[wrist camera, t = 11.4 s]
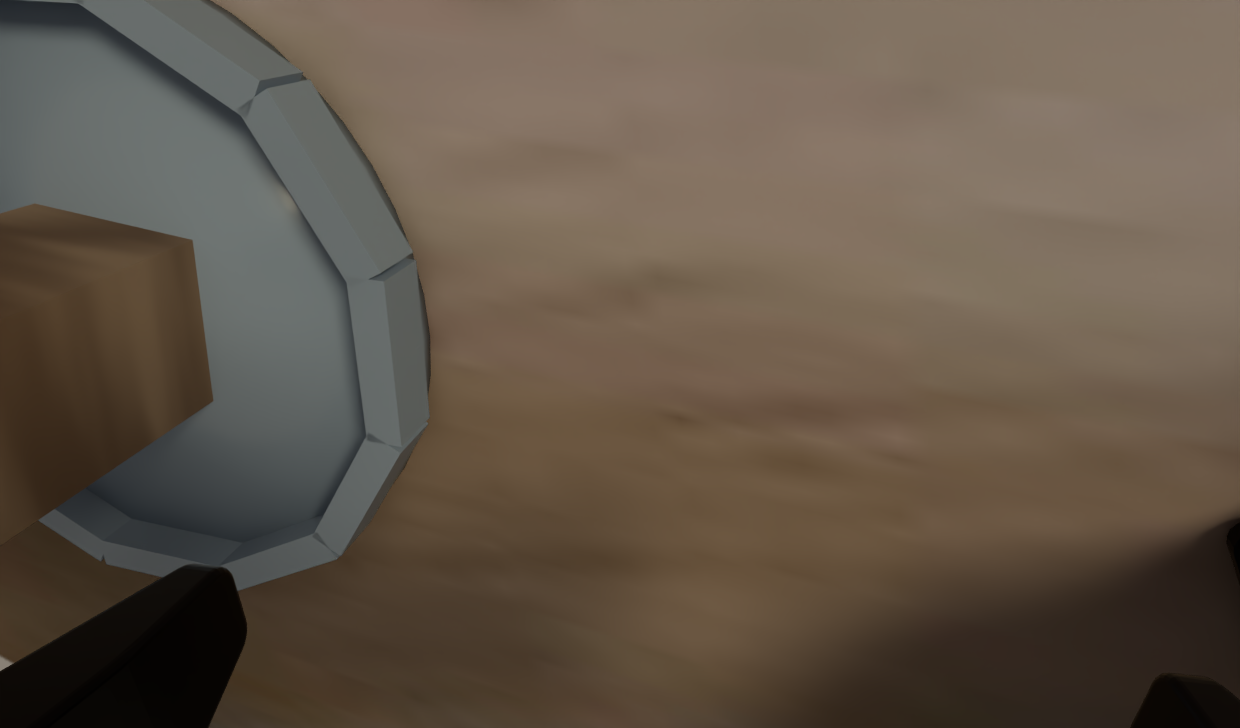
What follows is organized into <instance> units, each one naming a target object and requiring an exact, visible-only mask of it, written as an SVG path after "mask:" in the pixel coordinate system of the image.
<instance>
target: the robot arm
mask: <svg viewBox="0 0 1240 728" xmlns="http://www.w3.org/2000/svg"><path fill="white" fill-rule="evenodd" d="M1227 546H1228V549H1229V552H1230V555H1231V559H1232V562H1233V565H1234V568H1235V571H1236V574H1237V578H1238V581H1239V584H1240V523H1239V524H1237V525H1236V526H1234V527H1233V528H1232V529H1230V531H1229V533H1228V535H1227ZM246 635H247V622H246V618H245V614H244V611H243V608H242V604H241V601H240V598H239V594H238V591H237V588H236V584H235V581H234V578H233V575H232V573H231V572H230V571H229V570H228V569H227V568H224V567H221V566H212V565H203V564H187V565H184V566H182V567H180V568H178V569H176V570H174V571H173V572H171V573H169V574H167V575H166V576H164V577H162V578H161V579H159V580H157V581H155V582H154V583H152V584H150V585H148V586H147V587H145V588H143V589H142V590H140V591H138V592H136V593H135V594H133V595H131V596H129V597H128V598H126V599H124V600H123V601H121V602H119V603H117V604H116V605H114V606H112V607H110V608H109V609H107V610H105V611H104V612H102V613H100V614H98V615H97V616H95V617H93V618H91V619H90V620H88V621H86V622H85V623H83V624H81V625H79V626H78V627H76V628H74V629H72V630H71V631H69V632H67V633H66V634H64V635H62V636H60V637H59V638H57V639H55V640H53V641H52V642H50V643H48V644H47V645H45V646H43V647H41V648H40V649H38V650H36V651H34V652H33V653H31V654H29V655H27V656H26V657H24V658H22V659H21V660H19V661H17V662H15V663H14V664H12V665H10V666H9V667H7V668H5V669H3V670H2V671H0V728H208V727H209V725H210V723H211V720H212V718H213V716H214V713H215V711H216V709H217V707H218V704H219V702H220V700H221V697H222V695H223V693H224V691H225V688H226V686H227V684H228V681H229V679H230V677H231V675H232V672H233V670H234V668H235V665H236V663H237V661H238V659H239V656H240V654H241V652H242V649H243V647H244V644H245V640H246ZM1130 728H1240V700H1239V699H1238V698H1237V697H1235V696H1234V695H1233V694H1232V693H1231V692H1229V691H1228V690H1227V689H1226V688H1225V687H1223V686H1222V685H1220V684H1219V683H1218V682H1216V681H1214V680H1212V679H1210V678H1207V677H1201V676H1193V675H1184V674H1175V673H1163V674H1161V675H1160V676H1158V677H1157V678H1155V680H1154V681H1153V683H1152V685H1151V687H1150V689H1149V691H1148V693H1147V695H1146V697H1145V699H1144V701H1143V703H1142V705H1141V707H1140V709H1139V711H1138V713H1137V715H1136V717H1135V719H1134V721H1133V723H1132V725H1131V727H1130Z"/></svg>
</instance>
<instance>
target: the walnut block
mask: <svg viewBox="0 0 1240 728" xmlns="http://www.w3.org/2000/svg"><path fill="white" fill-rule="evenodd" d="M211 402H213V394H212V386H211V378H210V371H209V363H208V355H207V347H206V340H205V332H204V324H203V316H202V309H201V301H200V293H199V285H198V278H197V270H196V262H195V254H194V247H193V240H191V239H186V238H182V237H178V236H174V235H169V234H165V233H161V232H156V231H152V230H148V229H143V228H139V227H135V226H130V225H126V224H122V223H117V222H113V221H109V220H104V219H100V218H96V217H91V216H87V215H83V214H78V213H74V212H70V211H65V210H61V209H57V208H52V207H48V206H44V205H39V204H35V203H34V204H31V205H27V206H24V207H20V208H17V209H14V210H10V211H7V212H3V213H0V546H1V545H2V544H4V543H5V542H7V541H8V540H10V539H11V538H13V537H14V536H16V535H17V534H18V533H20V532H21V531H23V530H24V529H26V528H27V527H29V526H30V525H32V524H33V523H35V522H36V521H38V520H39V519H41V518H42V517H43V516H45V515H46V514H48V513H49V512H51V511H52V510H54V509H55V508H57V507H58V506H60V505H61V504H63V503H64V502H66V501H67V500H68V499H70V498H71V497H73V496H74V495H76V494H77V493H79V492H80V491H82V490H83V489H85V488H86V487H88V486H89V485H91V484H92V483H94V482H95V481H96V480H98V479H99V478H101V477H102V476H104V475H105V474H107V473H108V472H110V471H111V470H113V469H114V468H116V467H117V466H119V465H120V464H121V463H123V462H124V461H126V460H127V459H129V458H130V457H132V456H133V455H135V454H136V453H138V452H139V451H141V450H142V449H144V448H145V447H146V446H148V445H149V444H151V443H152V442H154V441H155V440H157V439H158V438H160V437H161V436H163V435H164V434H166V433H167V432H169V431H170V430H172V429H173V428H174V427H176V426H177V425H179V424H180V423H182V422H183V421H185V420H186V419H188V418H189V417H191V416H192V415H194V414H195V413H197V412H198V411H199V410H201V409H202V408H204V407H205V406H207V405H208V404H210V403H211Z"/></svg>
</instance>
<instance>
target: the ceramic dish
mask: <svg viewBox="0 0 1240 728" xmlns="http://www.w3.org/2000/svg"><path fill="white" fill-rule="evenodd" d="M302 74H303V72H302V71H301V70H300V69H298V68H297V67H295V66H294V65H292V64H291V63H290V62H289V61H288V60H287V59H286V58H285V57H284V56H283V55H282V54H281V53H280V52H279V51H278V50H277V49H276V48H275V47H274V46H273V45H271V44H270V43H269V42H268V41H266V40H265V39H264V38H262V37H261V36H260V35H259V34H257V33H256V32H255V31H254V30H252V29H251V28H250V27H248V26H247V25H246V24H245V23H243V22H242V21H241V20H239V19H238V18H237V17H236V16H234V15H233V14H232V13H230V12H228V11H227V10H225V9H224V8H222V7H220V6H219V5H217V4H215V3H214V2H212V1H210V0H0V213H3V212H7V211H10V210H14V209H17V208H20V207H24V206H27V205H31V204H34V203H35V204H39V205H44V206H48V207H52V208H57V209H61V210H65V211H70V212H74V213H78V214H83V215H87V216H91V217H96V218H100V219H104V220H109V221H113V222H117V223H122V224H126V225H130V226H135V227H139V228H143V229H148V230H152V231H156V232H161V233H165V234H169V235H174V236H178V237H182V238H186V239H191V240H193V247H194V254H195V262H196V270H197V278H198V285H199V293H200V301H201V309H202V316H203V324H204V332H205V340H206V347H207V355H208V363H209V371H210V378H211V386H212V394H213V402H211V403H210V404H208V405H207V406H205V407H204V408H202V409H201V410H199V411H198V412H197V413H195V414H194V415H192V416H191V417H189V418H188V419H186V420H185V421H183V422H182V423H180V424H179V425H177V426H176V427H174V428H173V429H172V430H170V431H169V432H167V433H166V434H164V435H163V436H161V437H160V438H158V439H157V440H155V441H154V442H152V443H151V444H149V445H148V446H146V447H145V448H144V449H142V450H141V451H139V452H138V453H136V454H135V455H133V456H132V457H130V458H129V459H127V460H126V461H124V462H123V463H121V464H120V465H119V466H117V467H116V468H114V469H113V470H111V471H110V472H108V473H107V474H105V475H104V476H102V477H101V478H99V479H98V480H96V481H95V482H94V483H92V484H91V485H89V486H88V487H86V488H85V489H83V490H82V491H80V492H79V493H77V494H76V495H74V496H73V497H71V498H70V499H68V500H67V501H66V502H64V503H63V504H61V505H60V506H58V507H57V508H55V509H54V510H52V511H51V512H49V513H48V514H46V515H45V516H43V517H42V518H41V519H39V520H38V521H40V522H41V523H43V524H44V525H46V526H47V527H49V528H50V529H52V530H53V531H55V532H57V533H58V534H60V535H61V536H63V537H64V538H66V539H67V540H69V541H70V542H72V543H73V544H75V545H76V546H78V547H79V548H81V549H82V550H84V551H85V552H87V553H88V554H90V555H91V556H93V557H94V558H96V559H97V560H99V561H102V560H103V559H105V561H106V564H108V565H112V566H116V567H121V568H125V569H129V570H134V571H138V572H142V573H146V574H151V575H155V576H159V577H164V576H166V575H167V574H169V573H171V572H173V571H174V570H176V569H178V568H180V567H182V566H184V565H187V564H203V565H212V566H221V567H224V568H227V569H228V570H229V571H230V572H231V573H232V575H233V578H234V581H235V584H236V588H237V591H239V590H242V589H245V588H248V587H252V586H255V585H258V584H261V583H264V582H267V581H270V580H274V579H277V578H280V577H283V576H286V575H289V574H292V573H296V572H299V571H302V570H305V569H308V568H311V567H314V566H318V565H321V564H324V563H327V562H330V561H333V560H336V559H338V557H339V556H341V555H342V554H343V553H344V552H345V551H346V550H347V549H348V547H349V546H350V545H351V544H352V543H353V542H354V541H355V539H356V538H357V537H358V536H359V535H360V534H361V533H362V531H363V530H364V529H365V528H366V527H367V526H368V525H369V523H370V522H371V520H372V518H373V517H374V515H375V513H376V512H377V510H378V508H379V506H380V505H381V503H382V501H383V500H384V498H385V496H386V495H387V493H388V491H389V489H390V488H391V486H392V485H393V483H394V482H395V481H396V479H397V478H398V476H399V475H400V474H401V472H402V471H403V469H404V468H405V466H406V464H407V461H408V459H409V457H410V455H411V453H412V451H413V449H414V447H415V445H416V444H417V442H418V440H419V439H420V437H421V435H422V433H423V432H424V430H425V428H426V427H427V425H428V423H427V422H426V421H427V420H428V419H429V418H430V416H429V404H428V392H429V384H430V376H431V364H430V333H429V326H428V319H427V312H426V305H425V299H424V294H423V290H422V286H421V283H420V279H419V275H418V272H417V266H416V260H414V257H413V253H412V252H413V251H412V249H411V247H410V245H409V243H408V240H407V238H406V235H405V233H404V230H403V228H402V225H401V223H400V220H399V218H398V215H397V213H396V210H395V208H394V206H393V204H392V202H391V200H390V198H389V197H388V195H387V193H386V191H385V189H384V187H383V185H382V183H381V181H380V179H379V178H378V176H377V174H376V172H375V170H374V168H373V166H372V164H371V163H370V161H369V160H368V158H367V157H366V155H365V154H364V152H363V151H362V149H361V148H360V146H359V145H358V143H357V142H356V140H355V139H354V137H353V136H352V134H351V133H350V131H349V130H348V128H347V127H346V125H345V124H344V122H343V121H342V120H341V119H340V118H339V116H338V115H337V114H336V113H335V112H334V110H333V109H332V108H331V107H330V106H329V104H328V103H327V102H326V101H325V100H324V98H323V97H322V96H321V95H320V93H319V92H318V91H317V90H316V89H315V87H314V85H313V84H312V82H311V80H310V79H309V80H307V79H306V78H305V77H304V76H303V75H302Z"/></svg>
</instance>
